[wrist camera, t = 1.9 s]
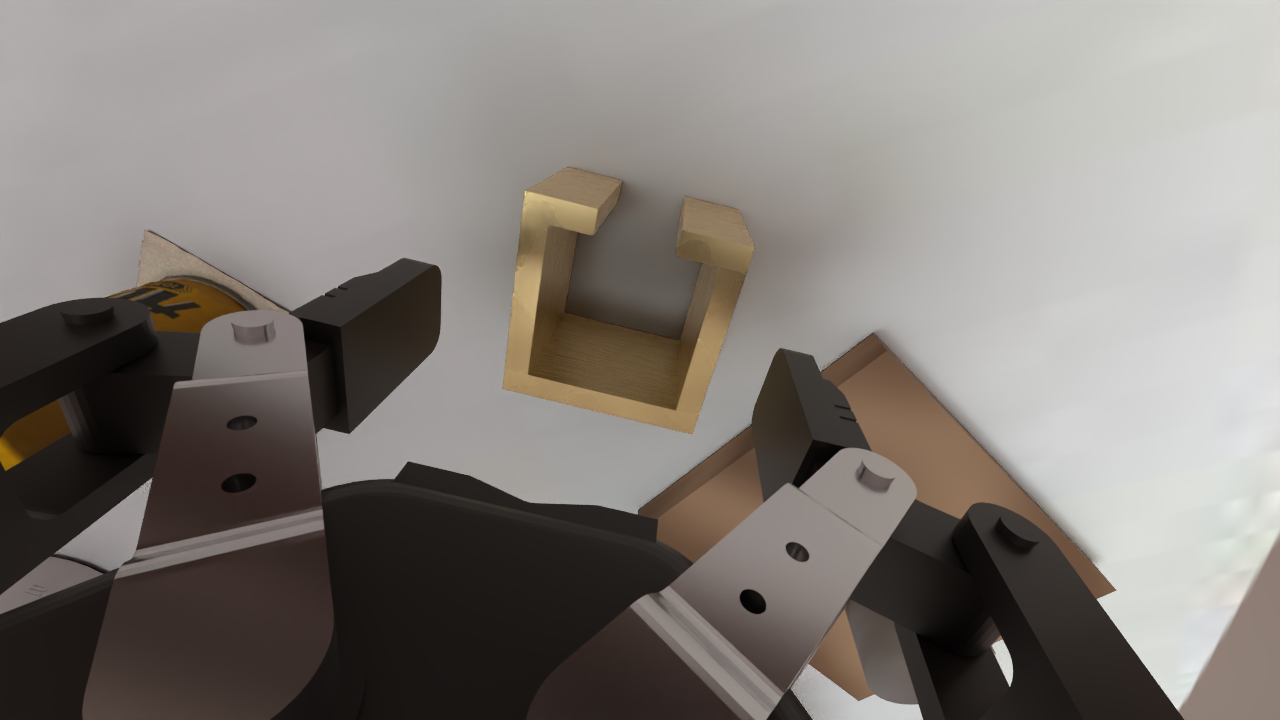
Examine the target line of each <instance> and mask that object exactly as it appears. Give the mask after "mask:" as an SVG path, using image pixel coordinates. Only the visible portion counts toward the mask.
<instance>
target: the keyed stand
mask: <svg viewBox="0 0 1280 720" xmlns="http://www.w3.org/2000/svg"><path fill="white" fill-rule="evenodd" d="M821 375H822V378H823V379H825V380H829V381H831V382H832V383H833V384H834V385H835V386H836V387H837V388H838V389H839V390H840V391H841V392H842V393H843V394H844V395H845V397H846V399H847V401H848V403H849V405H850V407H851V411H853V413H854V415H855V417H856V419H857V421H856V423H859V426H860V428H861V430H862V432H863V434H864V436H865V438H866V440H867V442H868V444H869V446H870V448H871V450H872V452H874V453H877V454H879V455H881V456H883V457H885V458H887V459H889V460H890V461H892V462H893V463H895V464H896V465H897V466H899V467H900V468H901V469H902V470H904V471H905V472H906V473H907V474H908V476H909V477H910V478H911V479H912V481H913V482H914V484H915V486H916V489H917V496H916V498H915V499H916V500H918V501H920V502H922V503H924V504H927V505H929V506H931V507H933V508H936V509H938V510H940V511H943V512H945V513H947V514H949V515H952V516H954V517H956V518H958V519H961V518H962V517H963V516H964V514H965V513H966V511H967V510H968V509H969V507H970V506H971V505H973V504H975V503H980V502H984V503H991V504H995V505H999V506H1002V507H1004V508H1007V509H1009V510H1011V511H1013V512H1015V513H1017V514H1019V515H1021V516H1023V517H1024V518H1026V519H1027V520H1029V521H1031V522H1032V523H1033V524H1035V525H1036V526H1037V527H1039V528H1040V529H1041V530H1042V531H1044V532H1045V533H1046V534H1047V535H1048V536H1049V537H1050V538H1051V539H1052V540H1053V541H1054V542H1055V544H1056V545H1057V546H1058V547H1059V549H1060V550H1061V552H1062V553H1063V554H1064V556H1065V557H1066V558H1067V560H1068V561H1069V563H1070V564H1071V565H1072V567H1073V568H1074V569H1075V571H1076V572H1077V573H1078V575H1079V576H1080V578H1081V579H1082V580H1083V582H1084V583H1085V584H1086V586H1087V587H1088V589H1089V590H1090V591H1091V593H1092V594H1093V595H1094V597H1095V598H1096V599H1097V598H1100V597H1102V596H1104V595H1107V594H1109V593H1111V592H1114V591H1116V589H1115V588H1114V587H1113V586H1112V585H1111V583H1110V582H1109V581H1108V580H1107V579H1106V578H1105V577H1104V575H1103V574H1102V573H1101V572H1100V571H1099V570H1098V568H1097V567H1096V566H1095V565H1094V564H1093V563H1092V561H1091V560H1090V559H1089V558H1088V557H1087V556H1086V555H1085V554H1084V553H1083V552H1082V551H1081V550H1080V549H1079V548H1078V547H1077V546H1076V545H1075V544H1074V543H1073V542H1072V540H1071V539H1070V538H1069V537H1068V536H1067V535H1066V534H1065V533H1064V532H1063V531H1062V530H1061V529H1060V528H1059V527H1058V526H1057V525H1056V524H1055V523H1054V522H1053V521H1052V519H1051V518H1050V517H1049V516H1048V515H1047V514H1046V513H1045V512H1044V511H1043V510H1042V509H1041V508H1040V507H1039V506H1038V505H1037V504H1036V503H1035V502H1034V501H1033V500H1032V499H1031V497H1030V496H1029V495H1028V494H1027V493H1026V492H1025V491H1024V490H1023V489H1022V488H1021V487H1020V486H1019V485H1018V484H1017V483H1016V482H1015V481H1014V480H1013V479H1012V478H1011V476H1010V475H1009V474H1008V473H1007V472H1006V471H1005V470H1004V469H1003V468H1002V467H1001V466H1000V465H999V464H998V463H997V462H996V461H995V460H994V459H993V458H992V457H991V455H990V454H989V453H988V452H987V451H986V450H985V449H984V448H983V447H982V446H981V445H980V444H979V443H978V442H977V441H976V440H975V439H974V438H973V437H972V436H971V435H970V433H969V432H968V431H967V430H966V429H965V428H964V427H963V426H962V425H961V424H960V423H959V422H958V421H957V420H956V419H955V418H954V417H953V416H952V415H951V414H950V412H949V411H948V410H947V409H946V408H945V407H944V406H943V405H942V404H941V403H940V402H939V401H938V400H937V399H936V398H935V397H934V396H933V395H932V394H931V393H930V391H929V390H928V389H927V388H926V387H925V386H924V385H923V384H922V383H921V382H920V381H919V380H918V379H917V378H916V377H915V376H914V375H913V374H912V373H911V372H910V371H909V369H908V368H907V367H906V366H905V365H904V364H903V363H902V362H901V361H900V360H899V359H898V358H897V357H896V356H895V355H894V354H893V353H892V352H891V351H890V350H889V348H888V347H887V346H886V345H885V344H884V343H883V342H882V341H881V340H880V339H879V338H878V337H877V336H876V335H875V334H874V333H873V334H871V335H870V336H869V337H867V338H866V339H865V340H863V341H862V342H861V343H860V344H858V345H857V346H856V347H854V348H853V349H852V350H850V351H849V352H848V353H846V354H845V355H844V356H842V357H841V358H840V359H838V360H837V361H836V362H834V363H833V364H832V365H830V366H829V367H828V368H826V369H825V370H824V371H822V372H821ZM763 503H764V502H763V496H762V489H761V483H760V477H759V471H758V465H757V459H756V452H755V446H754V440H753V434H752V425H751V426H750V427H748V428H747V429H746V430H744V431H743V432H742V433H740V434H739V435H738V436H736V437H735V438H734V439H732V440H731V441H730V442H728V443H727V444H726V445H724V446H723V447H722V448H720V449H719V450H718V451H716V452H715V453H714V454H713V455H711V456H710V457H709V458H707V459H706V460H705V461H703V462H702V463H701V464H699V465H698V466H697V467H695V468H694V469H693V470H691V471H690V472H689V473H687V474H686V475H685V476H683V477H682V478H681V479H679V480H678V481H677V482H675V483H674V484H673V485H671V486H670V487H669V488H667V489H666V490H665V491H664V492H662V493H661V494H660V495H658V496H657V497H656V498H654V499H653V500H652V501H650V502H649V503H648V504H646V505H645V506H644V507H642V508H641V509H640V510H638V515H641V516H645V517H649V518H654V519H658V527H657V538H656V539H657V540H659V541H661V542H663V543H665V544H667V545H668V546H670V547H672V548H674V549H675V550H677V551H678V552H680V553H681V554H683V555H684V556H685V557H687V558H688V559H689V560H691V561H692V562H693V563H695V562H696V561H698V560H699V559H700V558H701V557H702V556H703V555H705V554H706V553H707V552H708V551H709V550H710V549H711V548H713V547H714V546H715V545H716V544H717V543H718V542H719V541H721V540H722V539H723V538H724V537H725V536H726V535H727V534H729V533H730V532H731V531H732V530H733V529H734V528H735V527H737V526H738V525H739V524H740V523H741V522H742V521H744V520H745V519H746V518H747V517H748V516H749V515H750V514H752V513H753V512H754V511H755V510H756V509H757V508H758V507H760V506H761V505H762V504H763ZM1000 640H1002V637H1001V636H1000V637H999V638H998V639H997V640H996V641H995V642H997V641H1000ZM995 642H994V643H995ZM990 647H991V649H992V651H993V653H994V654H996V653H995V651H994V649H993V648H992V646H990ZM808 664H810V665H811V666H812V667H814V668H815V669H816V670H818V671H819V672H821V673H822V674H823V675H825V676H826V677H827V678H829V679H830V680H831V681H833V682H834V683H835V684H837V685H838V686H839V687H841V688H842V689H843V690H845V691H846V692H847V693H849V694H850V695H851V696H853V697H854V698H855V699H857V700H858V701H860V700H862V699H864V698H867V697H869V696H871V695H874V694H875V695H877V696H878V697H880V698H882V699H884V700H887V701H890V702H894V703H899V704H918V701H917V697H916V694H915V691H914V688H913V685H912V681H911V678H910V675H909V672H908V668H907V665H906V662H905V659H904V655H903V652H902V649H901V646H900V642H899V639H898V636H897V633H896V630H895V626H894V622H893V621H892V620H890V619H888V618H886V617H884V616H882V615H880V614H878V613H876V612H874V611H872V610H870V609H868V608H866V607H864V606H862V605H860V604H858V603H856V602H854V601H852V600H850V601H849V602H848V604H847V605H846V607H845V608H844V610H843V611H842V613H841V614H840V616H839V618H838V619H837V621H836V622H835V624H834V625H833V627H832V628H831V630H830V631H829V633H828V634H827V636H826V637H825V639H824V640H823V642H822V643H821V645H820V646H819V648H818V649H817V651H816V652H815V654H814V655H813V657H812V658H811V660H810V661H809V663H808Z"/></svg>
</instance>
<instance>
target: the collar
mask: <svg viewBox="0 0 1280 720" xmlns="http://www.w3.org/2000/svg"><path fill="white" fill-rule="evenodd" d="M621 184H622V180H618V179H614V178H610V177H606V176H602V175H598V174H594V173H590V172H586V171H582V170H578V169H574V168H570V167H567V168H565V169H563V170H561V171H559V172H558V173H556V174H554V175H552V176H550V177H549V178H547V179H545V180H543V181H541V182H540V183H538V184H536V185H534V186H532V187H530V188H529V189H527V190H525V193H524V202H523V211H522V220H521V229H520V238H519V247H518V255H517V264H516V273H515V282H514V291H513V300H512V309H511V318H510V327H509V336H508V345H507V354H506V363H505V372H504V381H503V389H506V390H510V391H514V392H518V393H522V394H526V395H531V396H535V397H539V398H543V399H547V400H551V401H556V402H560V403H564V404H568V405H572V406H576V407H581V408H585V409H589V410H593V411H597V412H601V413H606V414H610V415H614V416H618V417H622V418H626V419H631V420H635V421H639V422H643V423H647V424H651V425H656V426H660V427H664V428H668V429H672V430H676V431H681V432H685V433H689V434H692V433H693V430H694V427H695V424H696V421H697V418H698V415H699V413H700V410H701V407H702V404H703V401H704V398H705V395H706V392H707V389H708V386H709V383H710V380H711V377H712V374H713V371H714V368H715V365H716V362H717V359H718V356H719V353H720V350H721V347H722V344H723V341H724V338H725V335H726V333H727V330H728V327H729V324H730V321H731V318H732V315H733V312H734V309H735V306H736V303H737V300H738V297H739V294H740V291H741V288H742V285H743V282H744V279H745V276H746V273H747V270H748V267H749V264H750V261H751V258H752V255H753V252H754V250H755V247H754V244H753V242H752V240H751V237H750V235H749V232H748V230H747V228H746V225H745V223H744V221H743V218H742V216H741V213H740V211H739V210H738V209H734V208H730V207H726V206H722V205H718V204H714V203H710V202H706V201H702V200H698V199H694V198H690V197H686V196H685V198H684V202H683V206H682V210H681V214H680V219H679V229H678V239H677V248H676V257H681V258H685V259H689V260H693V261H697V262H701V263H702V265H701V269H700V272H699V276H698V279H697V283H696V286H695V289H694V293H693V296H692V300H691V303H690V307H689V310H688V313H687V317H686V320H685V324H684V327H683V331H682V334H681V337H680V341H679V340H674V339H670V338H666V337H662V336H658V335H654V334H650V333H646V332H642V331H638V330H633V329H629V328H625V327H621V326H617V325H613V324H609V323H605V322H601V321H597V320H592V319H588V318H584V317H580V316H576V315H572V314H568V313H565V307H566V301H567V295H568V289H569V283H570V277H571V271H572V265H573V258H574V252H575V246H576V240H577V234H578V232H580V233H584V234H588V235H592V236H594V234H595V233H596V231H597V230H598V229H599V227H600V226H601V224H602V223H603V222H604V220H605V219H606V217H607V216H608V215H609V213H610V212H611V210H612V209H613V208H614V206H615V205H616V204H617V202H618V200H619V194H620V189H621Z"/></svg>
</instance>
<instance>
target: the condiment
mask: <svg viewBox="0 0 1280 720" xmlns="http://www.w3.org/2000/svg"><path fill="white" fill-rule="evenodd" d="M142 243H143V244H142V249H141V259H140V262H139V268H140V269H139V273H138V281H137V284H136V288H132V289H131V290H125V291H122V292H120V293H117V294H114V295H111V296H108V297H105V298H119V299H127V300H132V301H136V302H139V303H142V304H144V305H145V306H147V307H148V308H149V310H150V313H151V317H152V320H153V324H154V328H155V331H168V332H185V333H201V330H202V328H203V327H204V325H205V324H207V323H208V322H209V321H211V320H213V319H215V318H217V317H220V316H223V315H226V314H230V313H235V312H241V311H251V310H268V311H277V312H282V313H286V314H288V313H289V312H287V311H285V310H283V309H281V308H279V307H277V306H276V305H275V304H274V303H272V302H270V301H268V300H266V299H265V298H263V297H262V296H260V295H259V294H257V293H256V292H254V291H253V290H251V289H249V288H248V287H246V286H245V285H243V284H241V283H240V282H238V281H236V280H234V279H232V278H231V277H229V276H227V275H225V274H223V273H222V272H220V271H218V270H217V269H215V268H214V267H212V266H210V265H208V264H206V263H205V262H203V261H202V260H200V259H198V258H197V257H195V256H193V255H191V254H189V253H187V252H185V251H183V250H181V249H180V248H179V247H177V246H176V245H174V244H172V243H170V242H169V241H167V240H164V239H163V238H161V237H159V236H157V235H155V234H153V233H150V232H147V231H145V230H144V239H143V241H142ZM69 433H71V431H70V429H69V426H68V424H67V421H66V419H65V417H64V414H63V412H62V409H61V407H60V405H59V402H58V400H56V401H54V402H52V403H50V404H48V405H46V406H44V407H42V408H40V409H39V410H37V411H35V412H33V413H31V414H29V415H27V416H25V417H23V418H21V419H20V420H18V421H16V422H15V423H13V424H12V425H11V426H10V427H9V428H8V429H7V430H6V431H5V432H4V433H3V435H2V436H1V438H0V462H1V463H2V465H3V467H4V469H5V471H6V470H8V469H10V468H11V467H13V466H15V465H16V464H18V463H20V462H22V461H23V460H25V459H27V458H28V457H30V456H32V455H33V454H35V453H37V452H38V451H40V450H42V449H44V448H45V447H47V446H49V445H50V444H52V443H54V442H55V441H57V440H59V439H60V438H62V437H64V436H65V435H67V434H69Z"/></svg>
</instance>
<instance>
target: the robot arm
mask: <svg viewBox="0 0 1280 720" xmlns="http://www.w3.org/2000/svg"><path fill="white" fill-rule="evenodd" d="M441 281H442V280H441V271H440V269H439V267H438V266H436V265H432V264H428V263H424V262H420V261H415V260H411V259H407V258H402V259H400V260H398V261H397V262H395V263H393V264H391V265H390V266H388V267H386V268H384V269H383V270H381V271H379V272H376V273H372V274H368V275H363V276H359V277H355V278H353V279H351V280H349V281H347V282H345V283H343V284H342V285H340V286H338V289H337V288H334V289H332V290H331V291H329V292H327V293H325V296H323V295H321V296H320V297H318V298H316V299H314V300H312V301H310V302H309V303H307V304H305V305H303V306H301V307H299V308H298V309H296V310H294V311H292V312H290V313H288V314H286V313H282V312H277V311H268V310H251V311H241V312H235V313H230V314H226V315H223V316H220V317H217V318H215V319H213V320H211V321H209V322H208V323H207V324H205V325H204V327H203V328H202V330H201V333H185V332H168V331H155V328H154V324H153V320H152V317H151V313H150V310H149V308H148V307H147V306H145V305H144V304H142V303H139V302H136V301H132V300H127V299H119V298H88V299H78V300H71V301H66V302H61V303H57V304H53V305H49V306H46V307H43V308H40V309H38V310H35V311H32V312H29V313H27V314H24V315H21V316H18V317H16V318H13V319H10V320H8V321H5V322H2V323H0V438H1V436H2V435H3V433H4V432H5V431H6V430H7V429H8V428H9V427H10V426H11V425H12V424H13V423H15V422H16V421H18V420H20V419H21V418H23V417H25V416H27V415H29V414H31V413H33V412H35V411H37V410H39V409H40V408H42V407H44V406H46V405H48V404H50V403H52V402H54V401H56V400H58V402H59V405H60V407H61V409H62V412H63V414H64V417H65V419H66V421H67V424H68V426H69V429H70V431H71V433H69V434H67V435H65V436H64V437H62V438H60V439H59V440H57V441H55V442H54V443H52V444H50V445H49V446H47V447H45V448H44V449H42V450H40V451H38V452H37V453H35V454H33V455H32V456H30V457H28V458H27V459H25V460H23V461H22V462H20V463H18V464H16V465H15V466H13V467H11V468H10V469H8V470H6V471H5V469H4V467H3V465H2V463H1V462H0V720H813V719H812V718H811V717H810V715H809V714H808V713H807V711H806V710H805V708H804V707H803V706H802V704H801V703H800V701H799V700H798V699H797V697H796V696H795V695H794V693H793V692H792V690H791V689H792V687H793V686H794V684H795V683H796V681H797V680H798V678H799V677H800V675H801V674H802V672H803V670H804V669H805V667H806V666H807V664H808V663H809V661H810V660H811V658H812V657H813V655H814V654H815V652H816V651H817V649H818V648H819V646H820V645H821V643H822V642H823V640H824V639H825V637H826V636H827V634H828V633H829V631H830V630H831V628H832V627H833V625H834V624H835V622H836V621H837V619H838V618H839V616H840V614H841V613H842V611H843V610H844V608H845V607H846V605H847V604H848V602H849V601H850V600H852V601H854V602H856V603H858V604H860V605H862V606H864V607H866V608H868V609H870V610H872V611H874V612H876V613H878V614H880V615H882V616H884V617H886V618H888V619H890V620H892V621H893V622H894V626H895V630H896V633H897V636H898V639H899V642H900V646H901V649H902V652H903V655H904V659H905V662H906V665H907V668H908V672H909V675H910V678H911V681H912V685H913V688H914V691H915V694H916V697H917V701H918V704H919V707H920V710H921V714H922V717H923V720H1184V719H1183V717H1182V716H1181V715H1180V713H1179V712H1178V711H1177V709H1176V708H1175V707H1174V705H1173V704H1172V702H1171V701H1170V700H1169V698H1168V697H1167V696H1166V694H1165V693H1164V691H1163V690H1162V689H1161V687H1160V686H1159V685H1158V683H1157V682H1156V680H1155V679H1154V678H1153V676H1152V675H1151V674H1150V672H1149V671H1148V669H1147V668H1146V667H1145V665H1144V664H1143V663H1142V661H1141V660H1140V659H1139V657H1138V656H1137V654H1136V653H1135V652H1134V650H1133V649H1132V648H1131V646H1130V645H1129V643H1128V642H1127V641H1126V639H1125V638H1124V637H1123V635H1122V634H1121V632H1120V631H1119V630H1118V628H1117V627H1116V626H1115V624H1114V623H1113V621H1112V620H1111V619H1110V617H1109V616H1108V615H1107V613H1106V612H1105V611H1104V609H1103V608H1102V606H1101V605H1100V604H1099V602H1098V601H1097V600H1096V598H1095V597H1094V595H1093V594H1092V593H1091V591H1090V590H1089V589H1088V587H1087V586H1086V584H1085V583H1084V582H1083V580H1082V579H1081V578H1080V576H1079V575H1078V573H1077V572H1076V571H1075V569H1074V568H1073V567H1072V565H1071V564H1070V563H1069V561H1068V560H1067V558H1066V557H1065V556H1064V554H1063V553H1062V552H1061V550H1060V549H1059V547H1058V546H1057V545H1056V544H1055V542H1054V541H1053V540H1052V539H1051V538H1050V537H1049V536H1048V535H1047V534H1046V533H1045V532H1044V531H1042V530H1041V529H1040V528H1039V527H1037V526H1036V525H1035V524H1033V523H1032V522H1031V521H1029V520H1027V519H1026V518H1024V517H1023V516H1021V515H1019V514H1017V513H1015V512H1013V511H1011V510H1009V509H1007V508H1004V507H1002V506H999V505H995V504H991V503H984V502H980V503H975V504H973V505H971V506H970V507H969V509H968V510H967V511H966V513H965V514H964V516H963V517H962V518H961V519H958V518H956V517H954V516H952V515H949V514H947V513H945V512H943V511H940V510H938V509H936V508H933V507H931V506H929V505H927V504H924V503H922V502H920V501H918V500H916V499H915V498H916V496H917V489H916V486H915V484H914V482H913V481H912V479H911V478H910V477H909V476H908V474H907V473H906V472H905V471H904V470H902V469H901V468H900V467H899V466H897V465H896V464H895V463H893V462H892V461H890V460H889V459H887V458H885V457H883V456H881V455H879V454H877V453H874V452H872V450H871V448H870V446H869V444H868V442H867V440H866V438H865V436H864V434H863V432H862V430H861V428H860V426H859V423H856V421H857V419H856V417H855V415H854V413H853V411H851V407H850V405H849V403H848V401H847V399H846V397H845V395H844V394H843V393H842V392H841V391H840V390H839V389H838V388H837V387H836V386H835V385H834V384H833V383H832V382H831V381H829V380H825V379H823V378H822V375H821V373H820V371H819V369H818V366H817V364H816V362H815V359H814V357H813V356H812V355H808V354H804V353H800V352H796V351H791V350H787V349H783V348H780V349H779V350H778V351H777V352H776V354H775V356H774V358H773V361H772V363H771V366H770V368H769V371H768V373H767V376H766V378H765V381H764V384H763V386H762V389H761V391H760V394H759V396H758V399H757V402H756V404H755V408H754V411H753V417H752V434H753V440H754V446H755V452H756V459H757V465H758V471H759V477H760V483H761V489H762V496H763V502H764V503H763V504H762V505H761V506H760V507H758V508H757V509H756V510H755V511H754V512H753V513H752V514H750V515H749V516H748V517H747V518H746V519H745V520H744V521H742V522H741V523H740V524H739V525H738V526H737V527H735V528H734V529H733V530H732V531H731V532H730V533H729V534H727V535H726V536H725V537H724V538H723V539H722V540H721V541H719V542H718V543H717V544H716V545H715V546H714V547H713V548H711V549H710V550H709V551H708V552H707V553H706V554H705V555H703V556H702V557H701V558H700V559H699V560H698V561H696V562H695V563H693V562H692V561H691V560H689V559H688V558H687V557H685V556H684V555H683V554H681V553H680V552H678V551H677V550H675V549H674V548H672V547H670V546H668V545H667V544H665V543H663V542H661V541H659V540H657V539H656V538H657V527H658V519H654V518H649V517H645V516H641V515H636V514H632V513H628V512H623V511H619V510H615V509H610V508H606V507H602V506H598V505H570V504H540V503H529V502H526V501H523V500H521V499H519V498H516V497H514V496H512V495H510V494H508V493H506V492H504V491H501V490H499V489H497V488H495V487H493V486H491V485H489V484H486V483H484V482H482V481H480V480H478V479H476V478H473V477H471V476H468V475H464V474H460V473H456V472H451V471H447V470H443V469H438V468H434V467H430V466H425V465H421V464H417V463H412V462H407V464H406V465H405V466H404V468H403V469H402V470H401V471H400V473H399V474H398V475H397V477H396V478H395V479H378V480H366V481H358V482H352V483H347V484H342V485H338V486H334V487H330V488H327V489H323V490H322V481H321V472H320V463H319V454H318V446H317V438H316V433H318V432H319V431H320V430H321V429H322V428H326V429H330V430H335V431H339V432H343V433H347V434H350V433H351V432H352V431H353V430H354V429H355V428H356V427H357V426H358V425H359V424H360V423H361V422H362V421H363V420H364V419H365V418H366V417H367V416H368V415H369V414H370V413H371V412H372V411H373V410H374V409H375V408H376V407H377V406H378V405H379V404H380V403H381V402H382V401H383V400H384V399H385V398H386V397H387V396H388V395H389V394H390V393H391V392H392V391H393V390H394V389H395V388H396V387H397V386H398V385H399V384H400V383H402V382H403V381H404V380H405V379H406V378H407V377H408V376H409V375H410V374H411V373H412V372H413V371H414V370H415V369H416V368H417V367H418V366H419V365H420V364H421V363H422V362H423V361H424V360H425V359H426V358H427V357H428V356H429V355H430V354H431V353H432V351H433V350H434V348H435V346H436V344H437V342H438V338H439V334H440V323H441ZM152 477H153V478H152ZM151 478H152V483H151V487H150V492H149V496H148V500H147V505H146V509H145V513H144V518H143V522H142V527H141V531H140V535H139V540H138V544H137V548H136V551H135V554H134V556H133V557H132V559H131V560H129V561H127V562H124V563H123V564H122V565H121V567H120V568H118V569H115V570H113V571H110V572H107V573H105V574H103V573H100V572H98V571H96V570H94V569H92V568H90V567H87V566H84V565H82V564H79V563H76V562H73V561H70V560H65V559H61V558H56V557H50V556H51V555H53V554H54V553H55V552H57V551H58V550H59V549H60V548H62V547H63V546H64V545H66V544H67V543H68V542H69V541H71V540H72V539H73V538H75V537H76V536H77V535H79V534H80V533H81V532H82V531H84V530H85V529H86V528H88V527H89V526H90V525H91V524H93V523H94V522H95V521H97V520H98V519H99V518H100V517H102V516H103V515H104V514H106V513H107V512H108V511H109V510H111V509H112V508H113V507H115V506H116V505H117V504H119V503H120V502H121V501H122V500H124V499H125V498H126V497H128V496H129V495H130V494H131V493H133V492H134V491H135V490H137V489H138V488H139V487H140V486H142V485H143V484H144V483H146V482H147V481H148V480H150V479H151ZM1000 636H1001V637H1002V639H1003V641H1004V643H1005V645H1006V647H1007V649H1008V651H1009V653H1010V655H1011V659H1012V664H1013V679H1012V683H1011V686H1010V687H1009V685H1008V683H1007V681H1006V678H1005V676H1004V674H1003V672H1002V670H1001V668H1000V666H999V664H998V662H997V659H996V657H995V655H994V653H993V651H992V649H991V647H990V646H991V645H992V644H993V643H994V642H995V641H996V640H997V639H998V638H999V637H1000Z"/></svg>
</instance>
